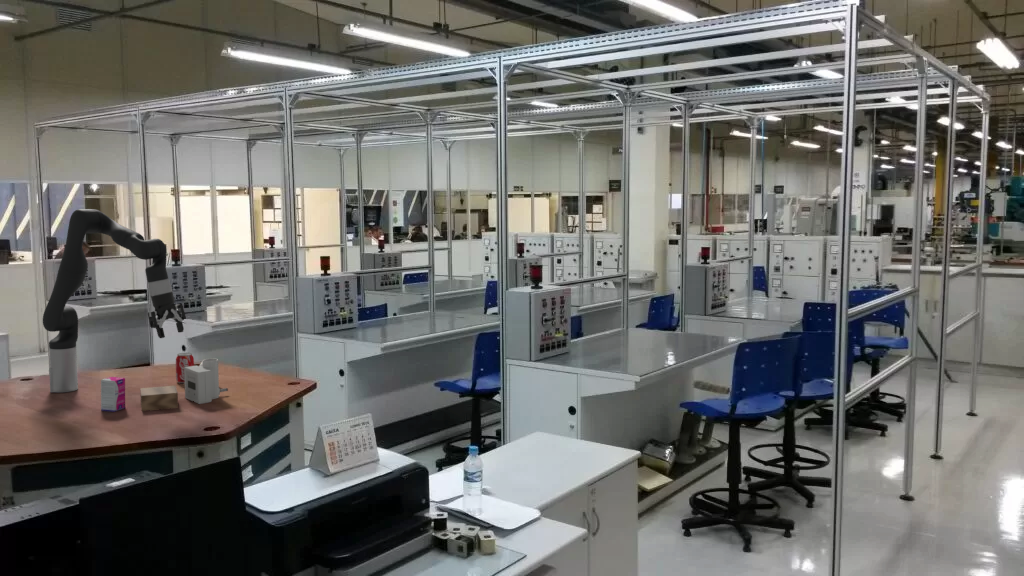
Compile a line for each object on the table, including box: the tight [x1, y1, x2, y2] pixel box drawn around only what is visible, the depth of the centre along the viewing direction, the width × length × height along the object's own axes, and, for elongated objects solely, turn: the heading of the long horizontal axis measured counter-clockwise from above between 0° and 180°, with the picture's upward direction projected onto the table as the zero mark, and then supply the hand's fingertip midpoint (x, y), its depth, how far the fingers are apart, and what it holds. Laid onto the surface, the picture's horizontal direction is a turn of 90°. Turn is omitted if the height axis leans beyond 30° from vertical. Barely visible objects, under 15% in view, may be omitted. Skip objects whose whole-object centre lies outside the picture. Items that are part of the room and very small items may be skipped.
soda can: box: [175, 352, 195, 384], centre depth 315 cm, size 7×7×12 cm
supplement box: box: [100, 376, 126, 413], centre depth 271 cm, size 6×6×12 cm
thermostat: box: [184, 357, 229, 405], centre depth 290 cm, size 12×14×15 cm
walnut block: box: [139, 385, 179, 412], centre depth 278 cm, size 12×12×6 cm
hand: (171, 335), depth 279 cm, fingers open, 8 cm apart
